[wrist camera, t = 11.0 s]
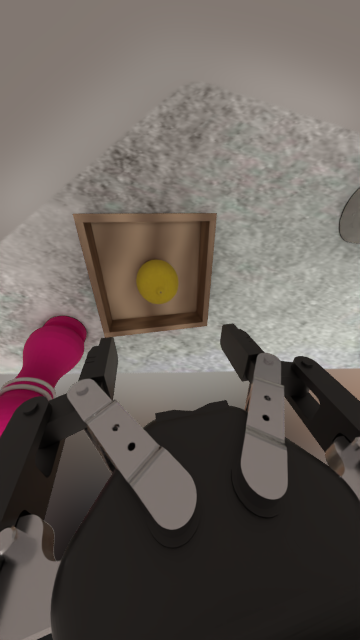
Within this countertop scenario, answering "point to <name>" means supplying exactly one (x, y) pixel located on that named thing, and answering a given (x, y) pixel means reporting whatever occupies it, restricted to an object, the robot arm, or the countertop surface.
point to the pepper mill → (43, 364)
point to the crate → (135, 250)
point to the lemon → (157, 281)
